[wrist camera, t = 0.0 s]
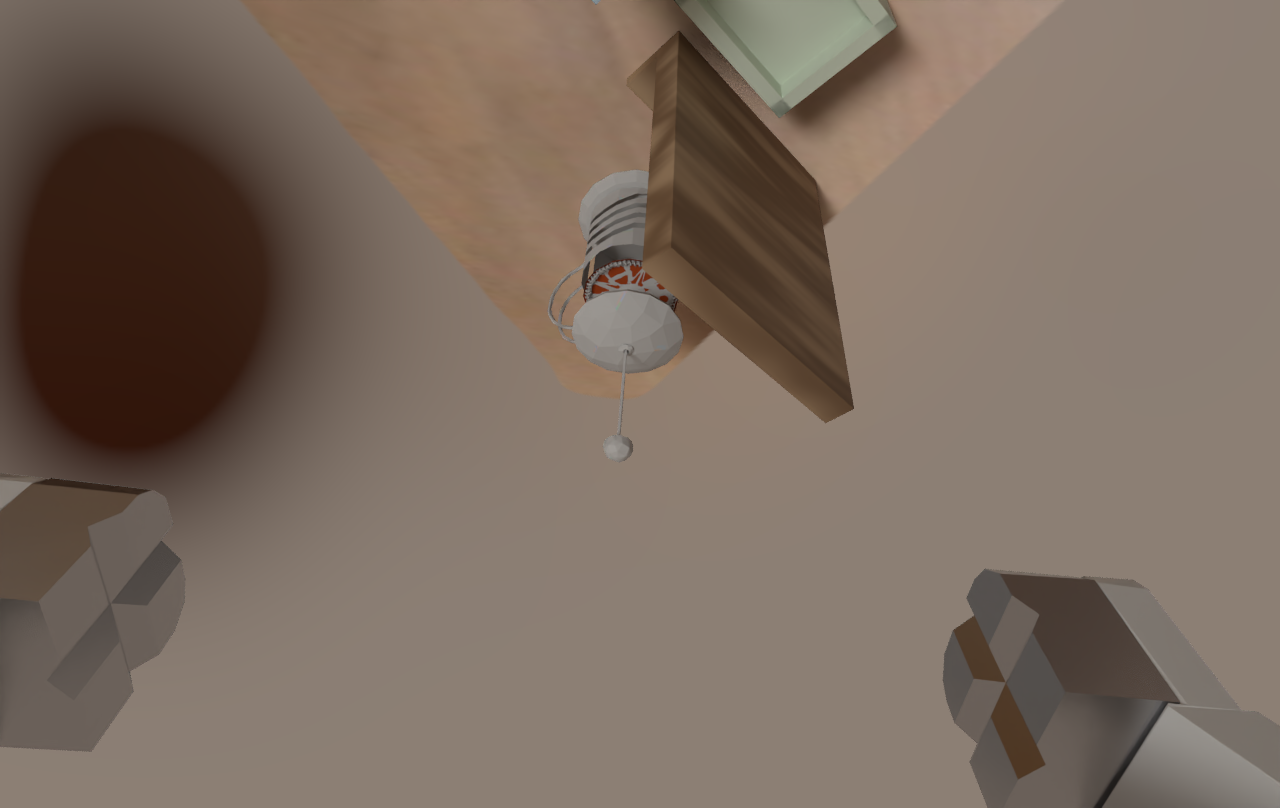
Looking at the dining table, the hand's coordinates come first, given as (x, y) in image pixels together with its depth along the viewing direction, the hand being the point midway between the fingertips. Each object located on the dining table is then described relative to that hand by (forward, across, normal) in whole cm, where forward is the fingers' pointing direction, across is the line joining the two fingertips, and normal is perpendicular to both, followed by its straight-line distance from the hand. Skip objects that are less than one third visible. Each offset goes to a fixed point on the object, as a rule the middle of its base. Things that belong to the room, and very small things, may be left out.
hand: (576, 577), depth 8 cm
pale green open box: (+53, -8, -4) cm, 54 cm away
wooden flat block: (+57, -7, +6) cm, 58 cm away
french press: (+60, 0, +15) cm, 62 cm away
